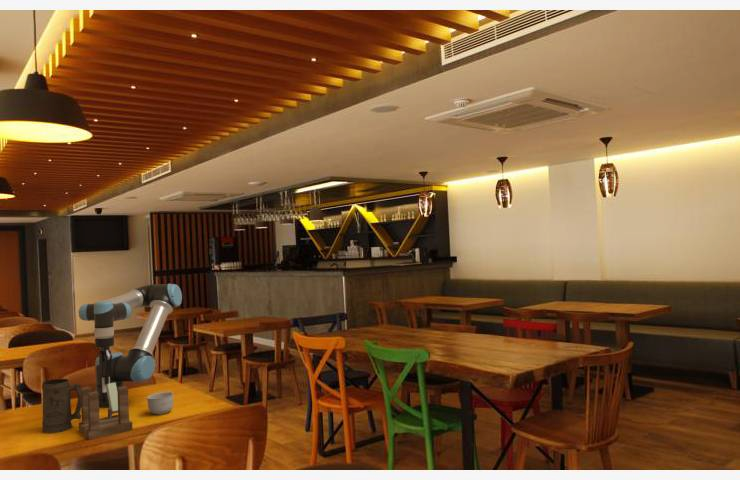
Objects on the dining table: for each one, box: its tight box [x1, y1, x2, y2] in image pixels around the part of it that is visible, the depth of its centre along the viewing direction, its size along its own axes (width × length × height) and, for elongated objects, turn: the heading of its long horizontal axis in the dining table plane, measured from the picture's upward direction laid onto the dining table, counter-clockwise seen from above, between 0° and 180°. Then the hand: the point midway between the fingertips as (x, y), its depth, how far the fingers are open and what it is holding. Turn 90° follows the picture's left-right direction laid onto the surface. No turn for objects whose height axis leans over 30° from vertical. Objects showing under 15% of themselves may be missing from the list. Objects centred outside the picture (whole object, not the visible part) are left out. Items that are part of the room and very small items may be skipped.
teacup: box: [146, 391, 174, 416], centre depth 254 cm, size 14×11×8 cm
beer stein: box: [41, 378, 82, 434], centre depth 236 cm, size 15×11×20 cm
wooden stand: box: [78, 385, 133, 441], centre depth 231 cm, size 16×16×17 cm
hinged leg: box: [106, 382, 118, 415], centre depth 241 cm, size 3×3×12 cm
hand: (106, 391), depth 249 cm, fingers closed
